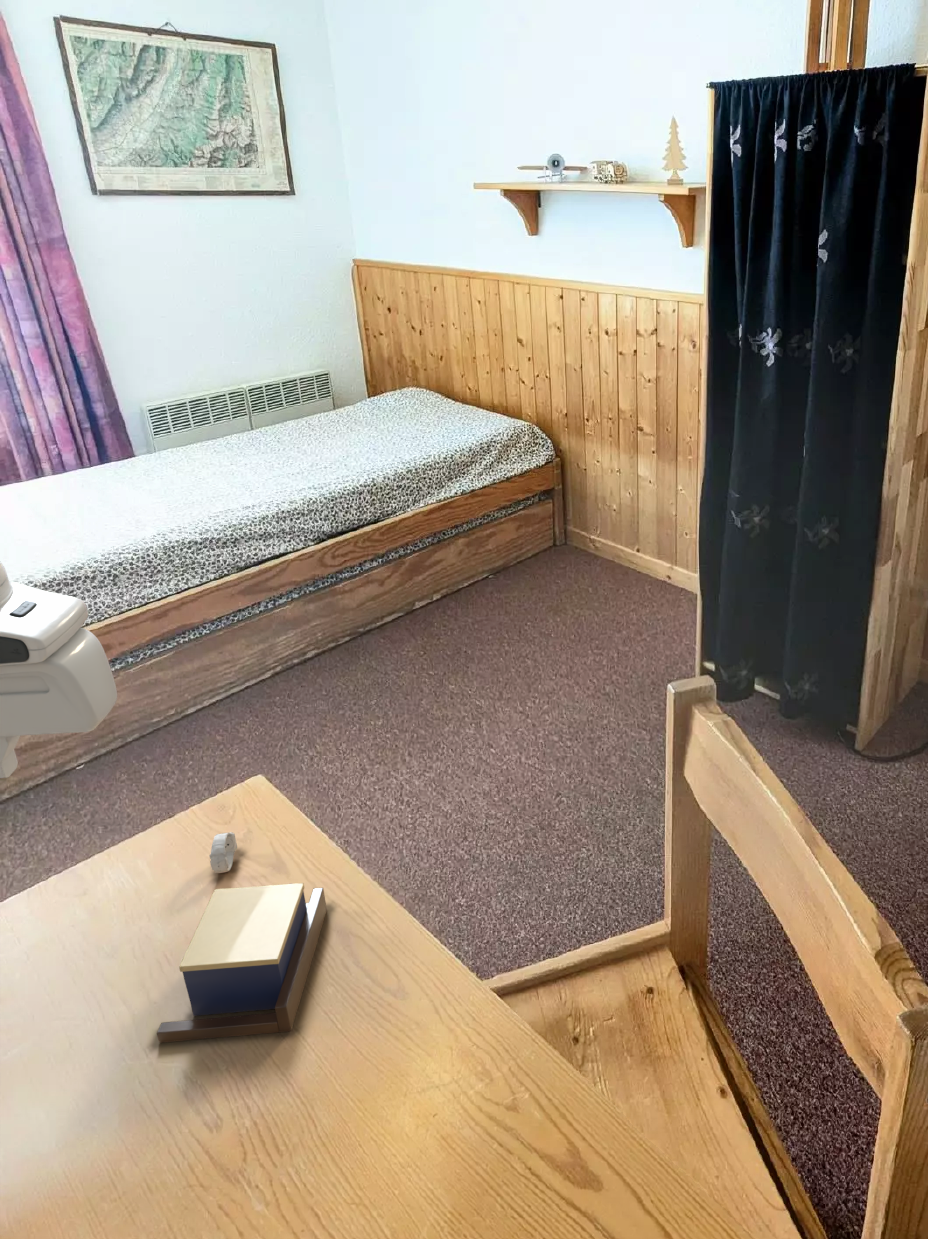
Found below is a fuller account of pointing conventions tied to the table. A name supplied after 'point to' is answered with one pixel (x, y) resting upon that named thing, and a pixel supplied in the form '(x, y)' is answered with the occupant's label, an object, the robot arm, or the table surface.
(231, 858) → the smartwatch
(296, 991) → the bay
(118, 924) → the table surface
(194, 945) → the toy box
